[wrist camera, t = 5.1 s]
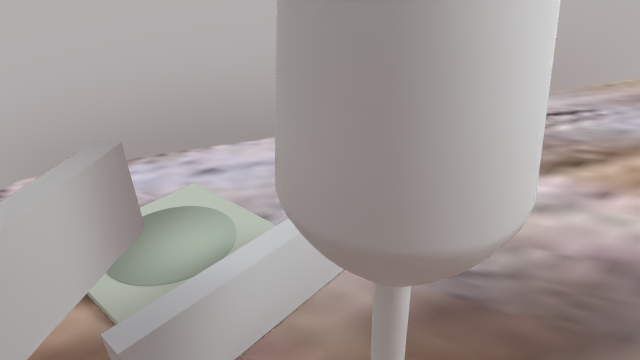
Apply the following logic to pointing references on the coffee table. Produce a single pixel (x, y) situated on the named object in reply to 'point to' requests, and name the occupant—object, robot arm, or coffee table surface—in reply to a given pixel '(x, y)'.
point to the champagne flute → (410, 136)
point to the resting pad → (174, 248)
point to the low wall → (226, 302)
